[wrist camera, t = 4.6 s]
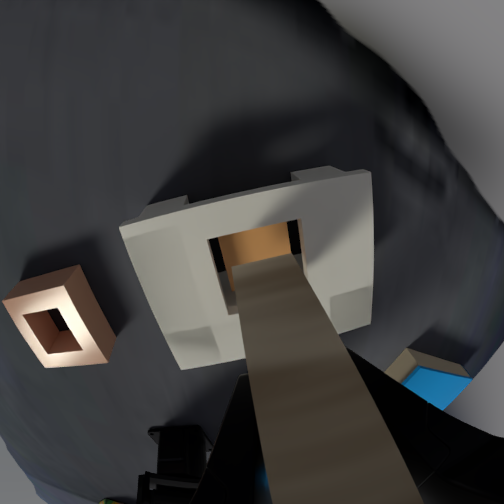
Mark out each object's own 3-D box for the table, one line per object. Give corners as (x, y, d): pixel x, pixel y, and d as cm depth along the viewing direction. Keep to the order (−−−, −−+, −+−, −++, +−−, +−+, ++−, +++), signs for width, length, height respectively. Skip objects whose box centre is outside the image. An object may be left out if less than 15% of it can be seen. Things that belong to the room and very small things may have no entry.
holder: (116, 337, 22) (108, 362, 19) (56, 345, 21) (45, 367, 19) (79, 264, 19) (63, 285, 16) (19, 281, 18) (2, 301, 16)
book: (286, 478, 32) (420, 370, 24) (281, 455, 36) (401, 343, 27) (365, 472, 37) (476, 380, 29) (358, 454, 41) (461, 361, 33)
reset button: (288, 264, 18) (294, 276, 17) (230, 278, 18) (232, 291, 16) (279, 208, 16) (285, 217, 15) (216, 222, 16) (216, 232, 15)
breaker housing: (338, 279, 22) (370, 323, 17) (185, 315, 21) (181, 369, 16) (328, 156, 18) (371, 171, 13) (144, 196, 17) (118, 227, 12)
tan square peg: (298, 301, 14) (408, 560, 3) (243, 314, 13) (303, 594, 3) (291, 252, 12) (445, 555, 2) (231, 266, 12) (297, 609, 2)
